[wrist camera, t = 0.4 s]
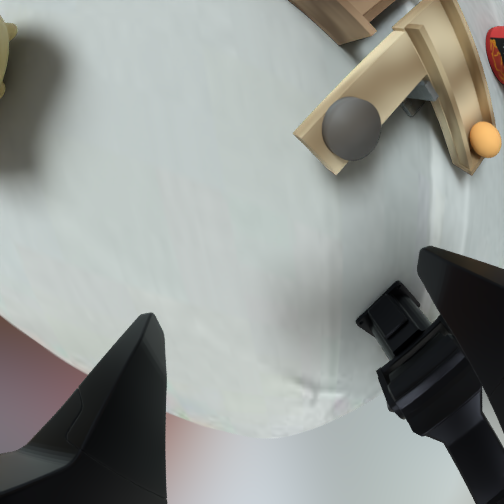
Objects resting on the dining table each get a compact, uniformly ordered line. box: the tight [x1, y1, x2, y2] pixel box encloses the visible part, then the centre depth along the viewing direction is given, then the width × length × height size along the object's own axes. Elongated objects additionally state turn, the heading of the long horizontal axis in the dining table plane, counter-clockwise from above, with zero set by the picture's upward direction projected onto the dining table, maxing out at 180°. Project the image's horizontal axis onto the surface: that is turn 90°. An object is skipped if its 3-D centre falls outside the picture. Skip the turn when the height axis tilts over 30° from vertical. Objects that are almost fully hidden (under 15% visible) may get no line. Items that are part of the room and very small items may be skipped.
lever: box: [293, 0, 499, 176], centre depth 16 cm, size 15×16×2 cm
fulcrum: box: [400, 80, 439, 117], centre depth 15 cm, size 5×8×4 cm, turn 139°
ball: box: [470, 121, 501, 158], centre depth 16 cm, size 3×3×3 cm
